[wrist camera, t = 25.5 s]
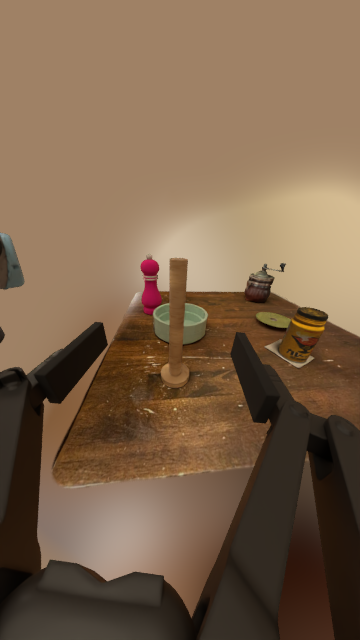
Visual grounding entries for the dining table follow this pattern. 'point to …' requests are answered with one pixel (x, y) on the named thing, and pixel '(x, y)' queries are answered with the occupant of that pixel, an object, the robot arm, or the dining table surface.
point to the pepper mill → (150, 285)
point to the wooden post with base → (176, 326)
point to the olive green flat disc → (273, 319)
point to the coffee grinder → (260, 285)
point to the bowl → (192, 323)
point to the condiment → (300, 336)
